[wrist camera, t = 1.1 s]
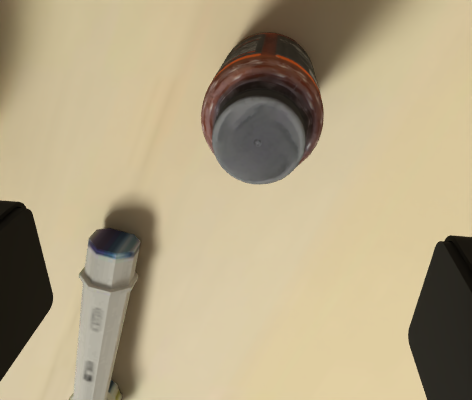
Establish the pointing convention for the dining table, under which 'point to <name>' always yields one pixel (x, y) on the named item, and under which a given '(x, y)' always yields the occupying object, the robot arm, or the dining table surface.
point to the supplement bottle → (263, 109)
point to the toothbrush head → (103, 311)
